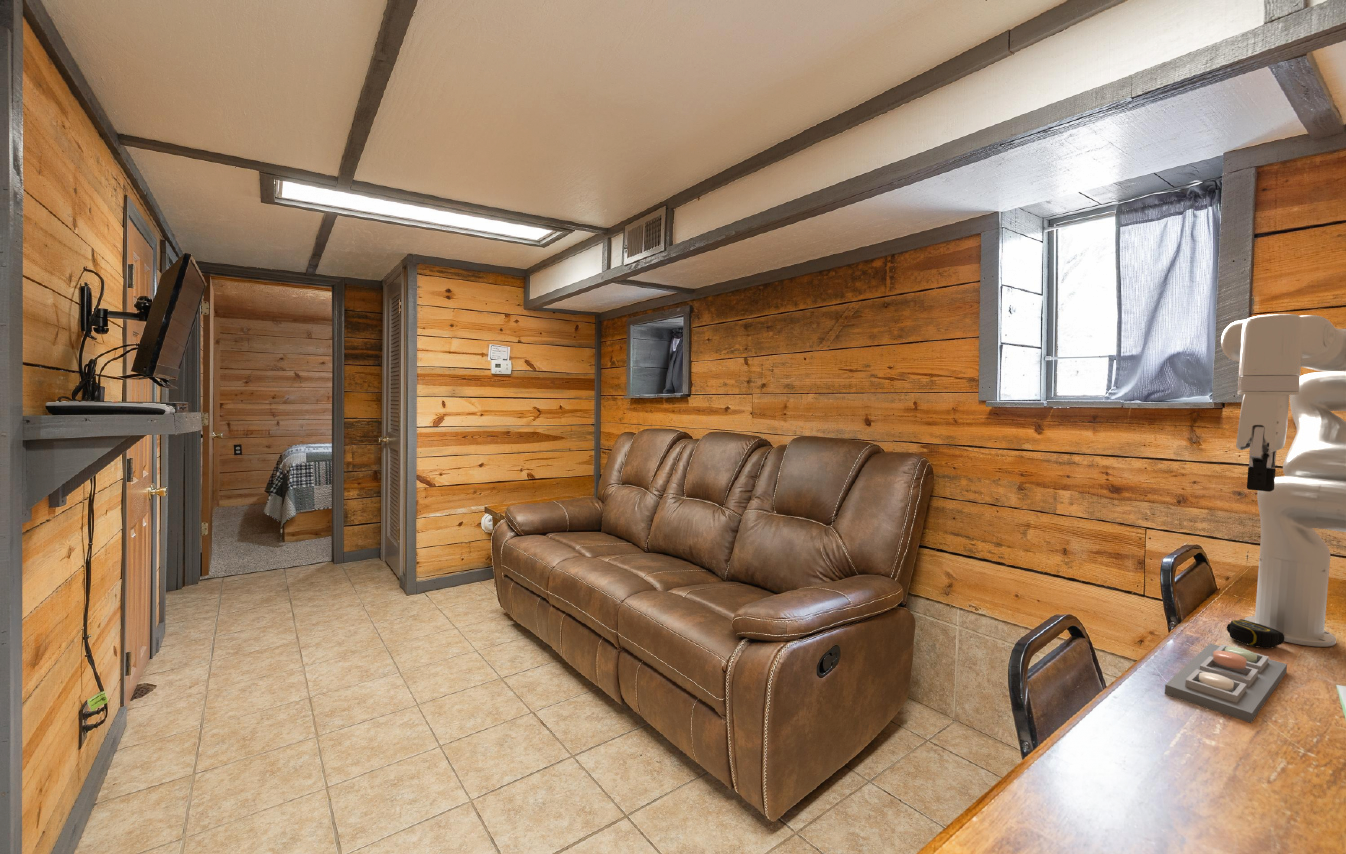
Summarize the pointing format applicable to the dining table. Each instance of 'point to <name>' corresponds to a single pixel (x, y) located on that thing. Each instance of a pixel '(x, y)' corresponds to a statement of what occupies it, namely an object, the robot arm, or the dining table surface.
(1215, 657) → the button terracotta
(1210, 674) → the cream button
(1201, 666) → the button board
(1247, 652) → the button sage
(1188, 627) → the dining table surface
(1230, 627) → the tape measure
